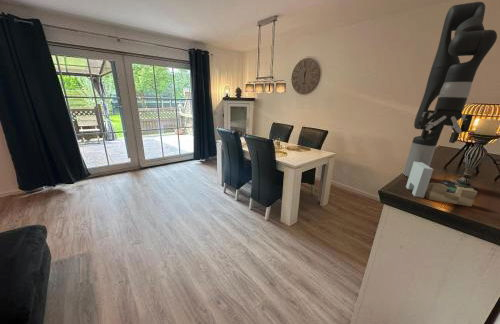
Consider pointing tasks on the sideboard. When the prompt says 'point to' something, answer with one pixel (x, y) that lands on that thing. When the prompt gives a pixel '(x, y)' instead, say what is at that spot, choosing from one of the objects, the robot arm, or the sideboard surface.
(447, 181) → the disk drive
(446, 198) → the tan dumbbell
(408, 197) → the sideboard surface
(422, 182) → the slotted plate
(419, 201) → the sideboard surface
